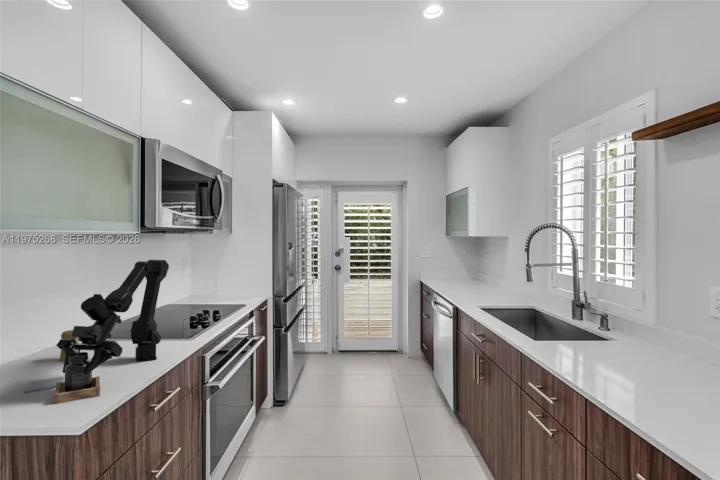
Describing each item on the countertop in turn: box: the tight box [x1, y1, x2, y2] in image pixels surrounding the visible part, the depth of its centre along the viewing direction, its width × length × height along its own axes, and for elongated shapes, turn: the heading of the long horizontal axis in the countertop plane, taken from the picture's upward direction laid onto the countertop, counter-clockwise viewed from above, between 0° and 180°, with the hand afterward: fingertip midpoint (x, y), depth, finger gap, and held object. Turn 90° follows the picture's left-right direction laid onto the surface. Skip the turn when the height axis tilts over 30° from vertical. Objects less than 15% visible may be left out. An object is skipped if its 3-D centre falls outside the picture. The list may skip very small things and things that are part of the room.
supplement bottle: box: [64, 351, 93, 392], centre depth 119 cm, size 7×7×12 cm
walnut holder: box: [53, 375, 101, 405], centre depth 119 cm, size 11×11×2 cm
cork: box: [59, 329, 78, 363], centre depth 150 cm, size 6×6×11 cm
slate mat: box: [24, 375, 65, 393], centre depth 125 cm, size 9×9×1 cm
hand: (74, 373), depth 118 cm, fingers closed on supplement bottle, 7 cm apart
